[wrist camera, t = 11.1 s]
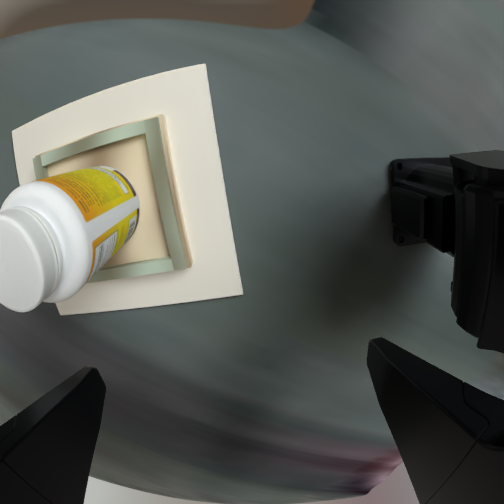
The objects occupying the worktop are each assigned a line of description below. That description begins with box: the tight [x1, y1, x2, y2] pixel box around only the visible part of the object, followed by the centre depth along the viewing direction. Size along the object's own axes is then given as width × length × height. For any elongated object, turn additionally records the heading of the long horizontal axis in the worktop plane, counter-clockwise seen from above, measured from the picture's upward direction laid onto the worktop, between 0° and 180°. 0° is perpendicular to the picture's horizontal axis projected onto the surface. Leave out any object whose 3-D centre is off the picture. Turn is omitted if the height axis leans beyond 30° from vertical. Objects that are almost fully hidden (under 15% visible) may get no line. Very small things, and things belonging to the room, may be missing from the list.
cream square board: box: [12, 64, 243, 315], centre depth 19 cm, size 16×16×1 cm
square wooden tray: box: [33, 114, 193, 283], centre depth 18 cm, size 10×10×2 cm
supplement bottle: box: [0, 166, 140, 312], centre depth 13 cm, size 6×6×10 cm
